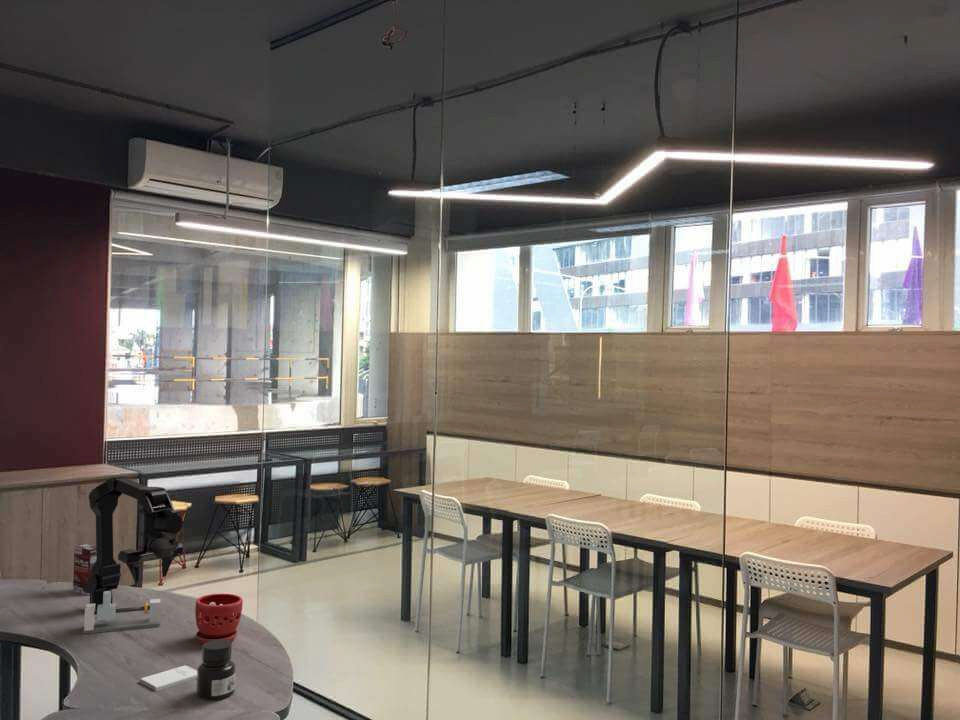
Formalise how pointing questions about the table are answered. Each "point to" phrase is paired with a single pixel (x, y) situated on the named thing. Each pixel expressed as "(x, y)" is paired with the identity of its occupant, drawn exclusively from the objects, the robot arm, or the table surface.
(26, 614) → the table surface
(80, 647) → the table surface
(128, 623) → the grey slide rail
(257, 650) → the table surface
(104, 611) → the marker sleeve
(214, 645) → the ink bottle
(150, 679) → the external hard drive
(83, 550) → the supplement box
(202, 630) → the plant pot
